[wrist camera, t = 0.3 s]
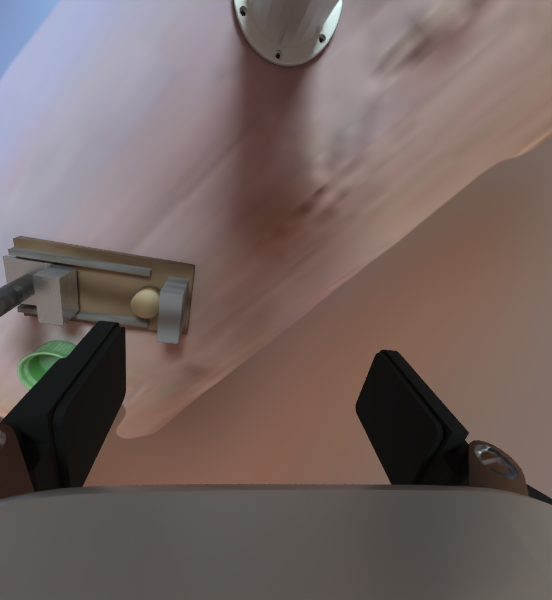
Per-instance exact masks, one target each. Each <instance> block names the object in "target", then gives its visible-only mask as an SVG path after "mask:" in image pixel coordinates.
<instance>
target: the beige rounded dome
mask: <svg viewBox="0 0 552 600" xmlns="http://www.w3.org/2000/svg"><path fill="white" fill-rule="evenodd" d="M160 291H161V290H160V289H158V288H157V287H154V286H144V287H142V288H141V289H140V290H139V291H138V292H137V293H136V295H135V296H134V297H133V299H132V300H131V304H130V305H131V309H132V311H133V312H134V313H135V314H136V315H137V316H139V317H141V318H152V317H154V316H155V315H156V314H157V313H158V312H159V298H160Z"/></svg>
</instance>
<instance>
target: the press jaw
mask: <svg viewBox="0 0 552 600" xmlns="http://www.w3.org/2000/svg"><path fill="white" fill-rule="evenodd" d="M3 261H4V267H5V273H6V279H7V284H6V285H4V286H2V287H1V288H0V317H1V316H2V315H4V314H5V313H7V312H8V311H10V310H11V309H13V308H14V307H16V306H17V305H19V304H28V305H36V306H37V314H38V322H39V323H46V324H55V325H64V324H65V323H66V322H67V321H68V320H70V319H71V318H72V317H73V316H74V315H75V314H76V313H77V312H78V311H79V308H78V292H77V275H76V268H75V267H68V266H61V265H55V263H53V262H46V261H39V260H33V259H26V258H20V257H13V256H7V255H6V256H3Z"/></svg>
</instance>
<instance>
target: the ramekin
mask: <svg viewBox="0 0 552 600" xmlns="http://www.w3.org/2000/svg"><path fill="white" fill-rule="evenodd" d="M75 347H76V346H75V345H73V344H71V343H68V342H64V341H51V342H48V343H45V344H43V345H42V346H40V347H39V348H38V349H36V350H35V351H34V352H32V353H31V354H29V355H27V356H25V357H24V358H23V359H22V360H21V361H20V362H19V364H18V367H17V374H18V377H19V379H20V381H21V382H22V383H23V384H24V385H25V386H26V387H27V388H28V389H29V390H30V389H31V388H32V387H33V386H34V385H35V384H36V383H37V382H38V381H39V380H40V379H41V377H42V376H43V375H44V374H45V373H46V372H47V371H48V370H49V369H50V368H51V366H52V365H53V364H54V363H55V362H56V361H57V360H59V359H60V358H66V357H67V356H68V355H69V354H70V353H71V351H72V350H73V349H74V348H75Z"/></svg>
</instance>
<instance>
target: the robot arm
mask: <svg viewBox="0 0 552 600" xmlns="http://www.w3.org/2000/svg"><path fill="white" fill-rule="evenodd" d="M233 1H234V7H235V13H236V16H237V20H238V23H239V26H240V28H241V30H242V32H243V34H244V36H245V38H246V40H247V41H248V43H249V44H250V45H251V47H252V48H253V49H254V50H255V51H256V52H257V53H258V54H259V55H260V56H261V57H263V58H264V59H266V60H267V61H269V62H271V63H274V64H276V65H279V66H286V67H290V66H298V65H301V64H304V63H307V62H308V61H310V60H311V59H313V58H314V57H316V56H317V55H318V54H319V53H320V52H321V51H322V50H323V49H324V48H325V46H326V45H327V44H328V42H329V41H330V39H331V37H332V36H333V34H334V32H335V30H336V27H337V24H338V22H339V19H340V15H341V10H342V4H343V0H233ZM242 12H244V13H245V16H242V15H241V13H242ZM319 39H321V40H322V43H320V42H319ZM277 54H278V55H279V56H280V58H279V59H277V58H276V55H277ZM125 393H126V347H125V328H124V327H120V325H119V323H118V322H110V321H98V322H97V323H96V324H95V325H94V327H93V328H92V329H91V330H90V331H89V332H88V333H87V334H86V336H85V337H84V338H83V339H82V340H81V341H80V342H79V344H78V345H77V346H76V347H75V348H74V349H73V350H72V351H71V353H70V354H69V355H68V356H67V357H66V358H60V359H59V360H57V361H56V362H55V363H54V364H53V365H52V366H51V368H50V369H49V370H48V371H47V372H46V373H45V374H44V375H43V376H42V377H41V379H40V380H39V381H38V382H37V383H36V384H35V385H34V386H33V387H32V388H31V389H30V391H29V392H28V393H27V394H26V395H25V396H24V397H23V398H22V399H21V400H20V401H19V403H18V404H17V405H16V406H15V407H14V408H13V409H12V410H11V411H10V412H9V414H8V415H7V416H6V417H5V418H4V419H3V420H2V421H1V422H0V600H552V499H551V498H549V497H548V496H546V495H544V494H543V493H541V492H539V491H537V490H536V489H534V488H532V487H530V486H529V485H527V484H526V481H525V476H524V474H523V472H522V469H521V468H520V467H519V465H518V464H517V463H516V462H515V461H514V460H513V459H512V458H511V457H510V456H509V455H508V454H506V453H505V452H504V451H502V450H501V449H499V448H497V447H496V446H494V445H492V444H490V443H487V442H484V441H480V440H475V441H472V442H470V443H469V444H468V443H467V442H466V441H465V439H466V437H467V435H468V434H469V433H468V431H467V430H466V429H465V428H464V427H463V425H462V424H461V423H460V422H459V421H458V420H457V419H456V417H455V416H454V415H453V414H452V413H451V412H450V411H449V409H448V408H447V407H446V406H445V405H444V404H443V403H442V401H441V400H440V399H439V398H438V397H437V396H436V395H435V393H434V392H433V391H432V390H431V389H430V388H429V387H428V385H427V384H426V383H425V382H424V381H423V380H422V379H421V378H420V376H419V375H418V374H417V373H416V372H415V371H414V369H413V368H412V367H411V366H410V365H409V364H408V363H407V361H406V360H405V359H404V358H403V357H402V356H401V355H400V354H399V353H398V352H397V351H392V350H381V351H380V352H379V353H377V354H376V355H375V357H374V360H373V362H372V365H371V367H370V370H369V372H368V375H367V377H366V380H365V383H364V385H363V387H362V390H361V392H360V395H359V397H358V400H357V403H356V413H357V415H358V417H359V419H360V421H361V423H362V425H363V427H364V429H365V431H366V433H367V435H368V438H369V440H370V442H371V444H372V446H373V448H374V450H375V452H376V454H377V456H378V458H379V460H380V462H381V464H382V466H383V468H384V470H385V472H386V474H387V476H388V478H389V480H390V482H391V484H392V485H369V484H366V485H365V484H362V485H361V484H358V485H357V484H205V485H202V484H198V485H197V484H195V485H193V484H192V485H191V484H188V485H121V486H91V487H83V484H84V482H85V480H86V478H87V476H88V474H89V472H90V470H91V468H92V465H93V463H94V461H95V459H96V457H97V455H98V453H99V451H100V449H101V446H102V444H103V442H104V440H105V438H106V436H107V434H108V432H109V430H110V428H111V425H112V423H113V421H114V419H115V417H116V415H117V413H118V411H119V409H120V407H121V405H122V402H123V400H124V397H125Z"/></svg>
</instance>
